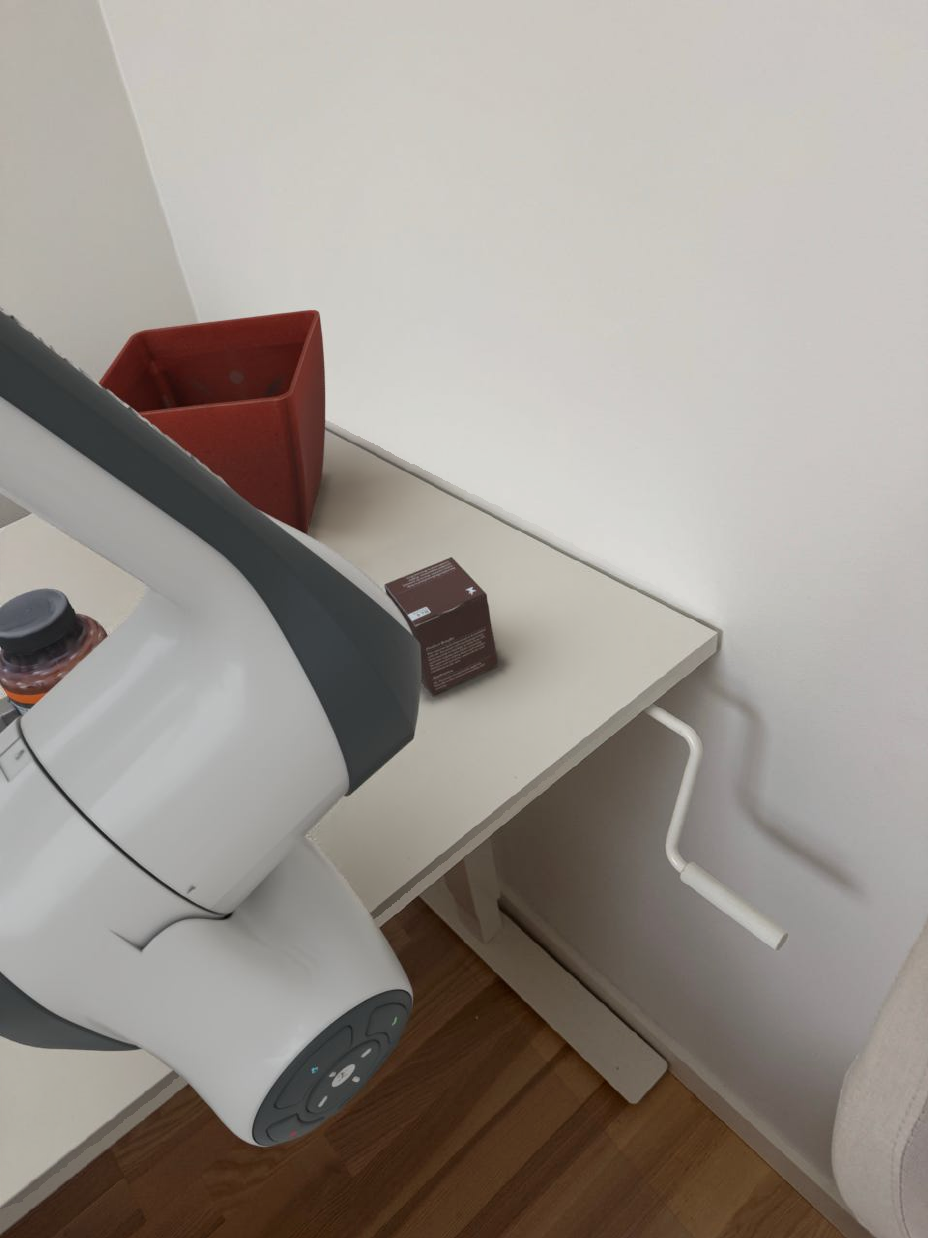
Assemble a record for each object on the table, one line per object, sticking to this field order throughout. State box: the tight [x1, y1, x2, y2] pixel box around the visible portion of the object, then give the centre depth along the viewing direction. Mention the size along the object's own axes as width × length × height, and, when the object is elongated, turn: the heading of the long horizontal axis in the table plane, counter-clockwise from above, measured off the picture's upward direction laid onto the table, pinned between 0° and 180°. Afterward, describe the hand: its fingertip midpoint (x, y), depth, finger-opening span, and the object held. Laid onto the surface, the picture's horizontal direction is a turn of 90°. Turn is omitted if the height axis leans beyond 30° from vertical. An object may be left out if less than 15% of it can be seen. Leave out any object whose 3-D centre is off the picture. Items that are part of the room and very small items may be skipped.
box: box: [384, 556, 499, 696], centre depth 73 cm, size 6×6×7 cm
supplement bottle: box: [0, 588, 109, 716], centre depth 53 cm, size 6×6×11 cm
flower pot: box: [98, 309, 326, 535], centre depth 92 cm, size 19×19×17 cm
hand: (63, 677), depth 53 cm, fingers closed on supplement bottle, 6 cm apart
